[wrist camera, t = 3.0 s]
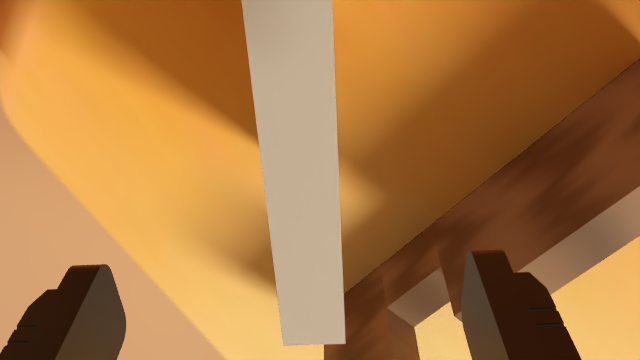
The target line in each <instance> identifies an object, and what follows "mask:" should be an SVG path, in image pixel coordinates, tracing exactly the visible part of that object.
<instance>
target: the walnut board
mask: <svg viewBox="0 0 640 360" xmlns="http://www.w3.org/2000/svg"><path fill="white" fill-rule="evenodd" d="M639 236H640V59H639V60H638V61H636V62H635V63H634V64H633V65H631V66H630V67H629V68H628V69H626V70H625V71H624V72H623V73H621V74H620V75H619V76H618V77H616V78H615V79H614V80H613V81H611V82H610V83H609V84H608V85H606V86H605V87H604V88H603V89H601V90H600V91H599V92H598V93H596V94H595V95H594V96H593V97H591V98H590V99H589V100H588V101H586V102H585V103H584V104H582V105H581V106H580V107H579V108H577V109H576V110H575V111H574V112H572V113H571V114H570V115H569V116H567V117H566V118H565V119H564V120H562V121H561V122H560V123H559V124H557V125H556V126H555V127H554V128H552V129H551V130H550V131H549V132H547V133H546V134H545V135H544V136H542V137H541V138H540V139H539V140H537V141H536V142H535V143H534V144H532V145H531V146H530V147H529V148H527V149H526V150H525V151H524V152H522V153H521V154H520V155H519V156H517V157H516V158H515V159H514V160H512V161H511V162H510V163H509V164H507V165H506V166H505V167H504V168H502V169H501V170H500V171H499V172H497V173H496V174H495V175H494V176H492V177H491V178H490V179H488V180H487V181H486V182H485V183H483V184H482V185H481V186H480V187H478V188H477V189H476V190H475V191H473V192H472V193H471V194H470V195H468V196H467V197H466V198H465V199H463V200H462V201H461V202H460V203H458V204H457V205H456V206H455V207H453V208H452V209H451V210H450V211H448V212H447V213H446V214H445V215H443V216H442V217H441V218H440V219H438V220H437V221H436V222H435V223H433V224H432V225H431V226H430V227H428V228H427V229H426V230H425V231H423V232H422V233H421V234H420V235H418V236H417V237H416V238H415V239H413V240H412V241H411V242H410V243H408V244H407V245H406V246H405V247H403V248H402V249H401V250H400V251H398V252H397V253H396V254H395V255H393V256H392V257H391V258H389V259H388V260H387V261H386V262H384V263H383V264H382V265H381V266H379V267H378V268H377V269H376V270H374V271H373V272H372V273H371V274H369V275H368V276H367V277H366V278H364V279H363V280H362V281H361V282H359V283H358V284H357V285H356V286H354V287H353V288H352V289H351V290H349V291H348V292H347V293H346V294H344V317H345V343H346V344H324V360H420V357H419V352H418V346H417V341H416V335H415V329H414V327H415V326H416V325H417V324H419V323H420V322H422V321H423V320H424V319H426V318H427V317H429V316H430V315H431V314H433V313H434V312H436V311H437V310H438V309H440V308H441V307H443V306H444V305H445V304H447V303H448V302H451V306H452V310H453V313H454V316H455V317H456V318H458V319H459V320H460V321H462V314H461V300H462V290H463V281H464V272H465V262H466V255H467V252H468V251H476V250H503V251H504V252H505V254H506V256H507V258H508V261H509V263H510V265H511V268H512V270H513V272H514V273H515V272H530V273H531V274H532V275H533V276H534V277H535V278H536V279H538V280H539V281H540V282H541V283H542V284H543V285H544V286H545V287H546V288H547V289H548V291H549V293H550V295H551V294H552V293H554V292H555V291H557V290H558V289H560V288H561V287H563V286H564V285H566V284H567V283H569V282H570V281H572V280H573V279H575V278H576V277H578V276H580V275H581V274H583V273H584V272H586V271H587V270H589V269H590V268H592V267H593V266H595V265H596V264H598V263H599V262H601V261H602V260H604V259H605V258H607V257H608V256H610V255H611V254H613V253H614V252H616V251H617V250H619V249H620V248H622V247H623V246H625V245H626V244H628V243H629V242H631V241H632V240H634V239H635V238H637V237H639Z"/></svg>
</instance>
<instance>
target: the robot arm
mask: <svg viewBox="0 0 640 360" xmlns="http://www.w3.org/2000/svg"><path fill="white" fill-rule="evenodd" d="M461 314H462V322H463V328H464V332H465V335H466V339H467V343H468V346H469V350H470V353H471V357H472V360H581V358H580V355H579V353H578V351H577V349H576V347H575V345H574V343H573V341H572V339H571V337H570V335H569V333H568V331H567V329H566V327H564V322H563V320H562V318H561V316H560V314H559V312H558V311H556V306H555V304H554V302H553V300H552V298H551V295H550V293H549V291H548V289H547V288H546V287H545V286H544V285H543V284H542V283H541V282H540V281H539V280H538V279H536V278H535V277H534V276H533V275H532V274H531V273H530V272H515V273H514V272H513V270H512V268H511V265H510V263H509V261H508V258H507V256H506V254H505V252H504V251H503V250H476V251H468V252H467V255H466V262H465V272H464V281H463V290H462V300H461ZM125 332H126V317H125V312H124V309H123V306H122V303H121V300H120V296H119V294H118V290H117V287H116V284H115V281H114V278H113V275H112V272H111V269H110V267H109V266H108V265H106V264H102V265H77V266H72V267H70V268H69V269H68V271H67V272H66V274H65V276H64V278H63V279H62V281H61V283H60V285H59V287H58V289H53V290H47V291H45V292H44V293H43V294H42V295H41V296H40V297H39V298H38V299H36V300H35V301H34V302H33V303H32V304H31V305H30V306H29V307H28V308H27V310H26V312H25V313H24V315H23V317H22V318H21V320H20V321H19V323H18V325H17V330H14V332H13V333H12V335H11V337H10V338H9V340H8V345H7V346H5V347H4V348H3V350H2V352H1V353H0V360H117V357H118V355H119V352H120V349H121V347H122V344H123V341H124V338H125Z"/></svg>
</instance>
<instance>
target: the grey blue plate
mask: <svg viewBox="0 0 640 360" xmlns="http://www.w3.org/2000/svg"><path fill="white" fill-rule="evenodd" d="M241 1H242V10H243V18H244V26H245V34H246V42H247V51H248V59H249V67H250V75H251V83H252V92H253V100H254V108H255V116H256V125H257V133H258V141H259V149H260V157H261V166H262V174H263V182H264V190H265V198H266V207H267V215H268V223H269V231H270V239H271V248H272V256H273V264H274V272H275V280H276V289H277V297H278V305H279V313H280V322H281V330H282V338H283V346H291V345H323V344H346V343H345V317H344V292H343V267H342V241H341V216H340V190H339V165H338V140H337V114H336V89H335V64H334V38H333V13H332V0H241Z"/></svg>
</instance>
